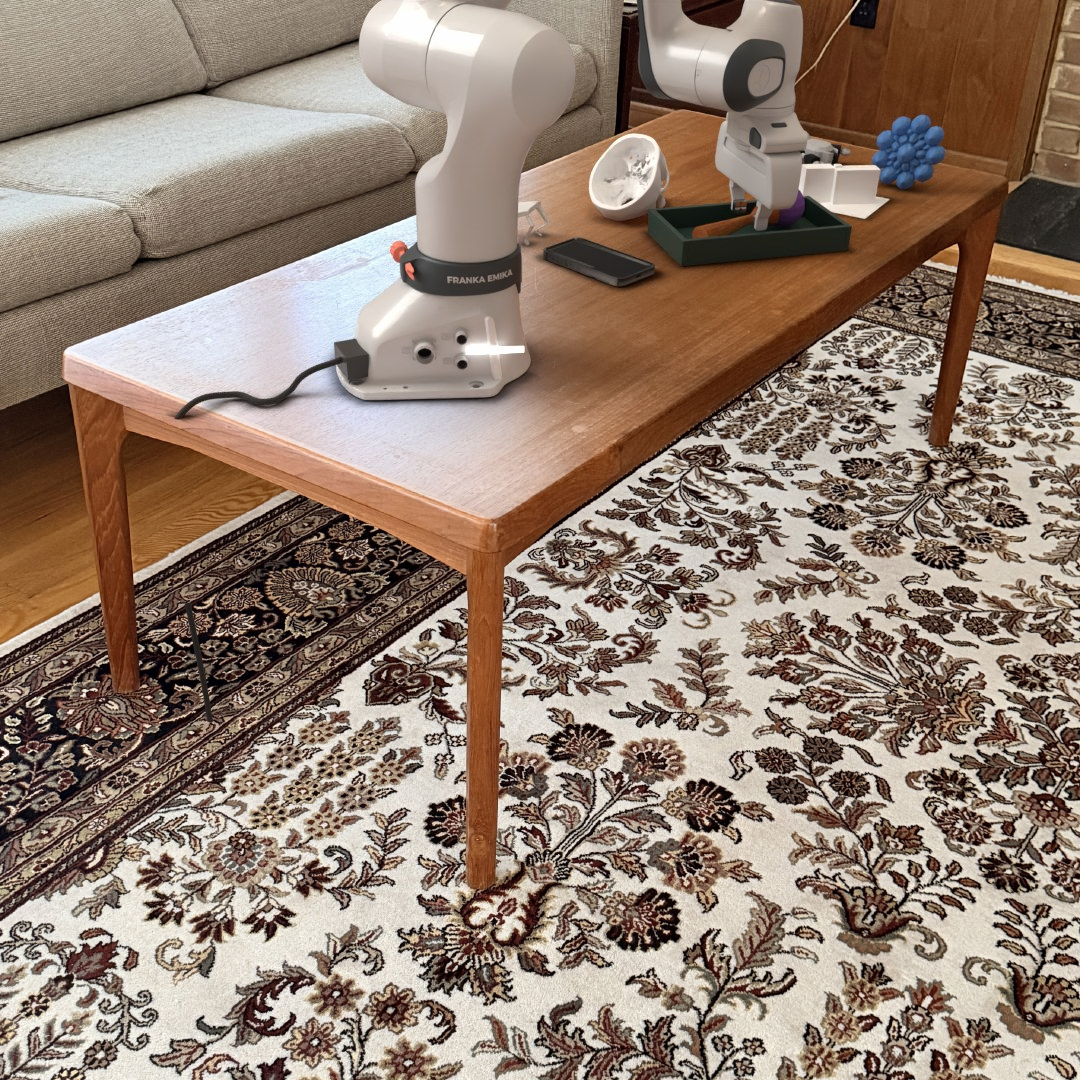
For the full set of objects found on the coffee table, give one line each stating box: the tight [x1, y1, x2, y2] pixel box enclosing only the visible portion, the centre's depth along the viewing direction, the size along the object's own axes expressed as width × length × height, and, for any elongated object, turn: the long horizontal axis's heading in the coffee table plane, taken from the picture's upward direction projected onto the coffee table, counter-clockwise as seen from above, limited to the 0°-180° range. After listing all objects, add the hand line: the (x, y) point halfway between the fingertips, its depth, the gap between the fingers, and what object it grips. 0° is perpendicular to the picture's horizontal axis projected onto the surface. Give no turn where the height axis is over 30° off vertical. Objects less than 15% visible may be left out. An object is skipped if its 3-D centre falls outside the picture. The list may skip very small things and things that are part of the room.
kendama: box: [692, 189, 805, 238], centre depth 176 cm, size 6×6×20 cm
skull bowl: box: [588, 133, 671, 222], centre depth 186 cm, size 10×14×12 cm
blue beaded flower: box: [871, 114, 947, 190], centre depth 196 cm, size 12×7×12 cm, turn 54°
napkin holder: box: [799, 163, 891, 220], centre depth 192 cm, size 15×11×6 cm
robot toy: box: [799, 130, 851, 166], centre depth 208 cm, size 12×4×15 cm
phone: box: [542, 237, 656, 288], centre depth 168 cm, size 8×1×15 cm
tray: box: [646, 196, 853, 267], centre depth 176 cm, size 26×14×4 cm, turn 106°
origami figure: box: [518, 200, 551, 246], centre depth 174 cm, size 12×8×5 cm
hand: (748, 220), depth 176 cm, fingers closed on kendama, 6 cm apart
